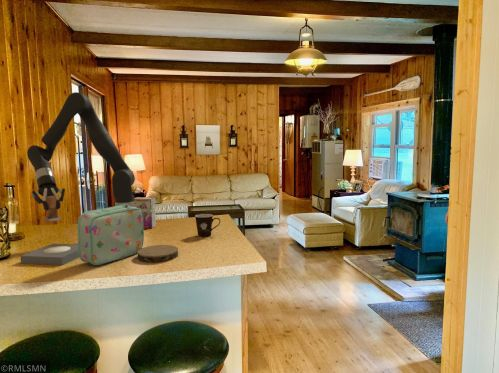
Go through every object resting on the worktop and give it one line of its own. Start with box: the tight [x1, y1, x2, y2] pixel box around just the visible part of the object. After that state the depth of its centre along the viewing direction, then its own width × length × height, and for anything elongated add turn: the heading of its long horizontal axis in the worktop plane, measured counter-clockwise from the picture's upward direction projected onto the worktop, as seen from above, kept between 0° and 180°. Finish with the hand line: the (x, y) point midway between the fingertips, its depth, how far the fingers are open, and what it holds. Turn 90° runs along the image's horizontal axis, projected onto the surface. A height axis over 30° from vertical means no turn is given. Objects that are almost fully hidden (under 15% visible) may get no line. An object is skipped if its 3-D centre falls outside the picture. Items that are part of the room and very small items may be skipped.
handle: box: [44, 195, 62, 223], centre depth 165 cm, size 6×6×11 cm
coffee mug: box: [195, 213, 221, 238], centre depth 183 cm, size 12×9×10 cm
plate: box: [20, 243, 80, 266], centre depth 151 cm, size 18×18×3 cm
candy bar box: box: [134, 196, 157, 229], centre depth 204 cm, size 11×5×16 cm, turn 77°
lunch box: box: [77, 204, 145, 266], centre depth 148 cm, size 27×10×21 cm, turn 149°
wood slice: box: [137, 244, 179, 264], centre depth 150 cm, size 16×16×3 cm
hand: (52, 208), depth 163 cm, fingers closed on handle, 4 cm apart
